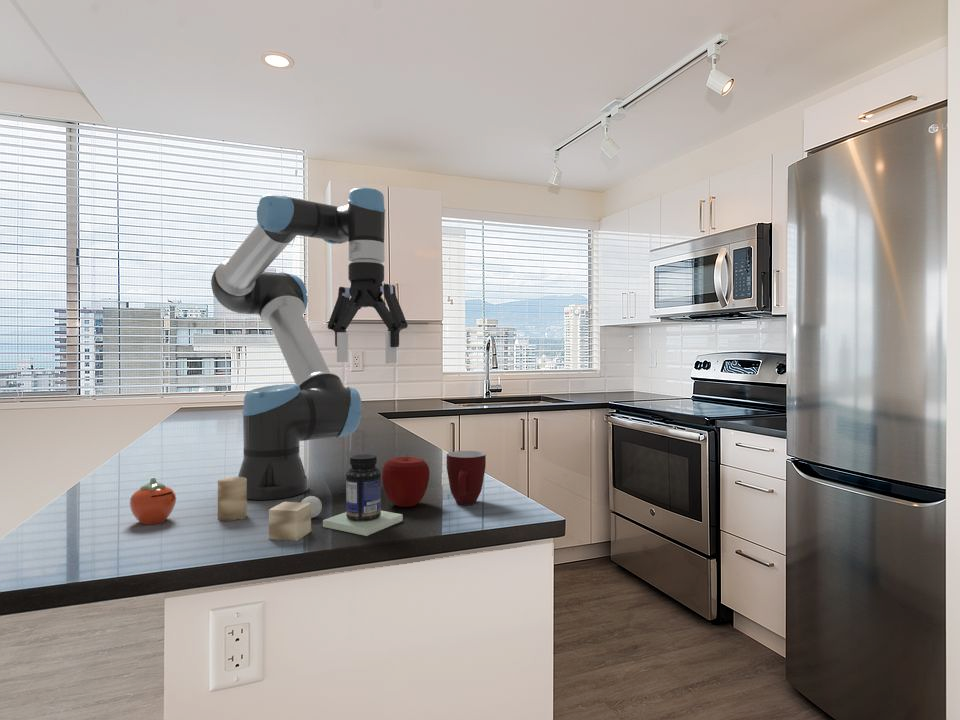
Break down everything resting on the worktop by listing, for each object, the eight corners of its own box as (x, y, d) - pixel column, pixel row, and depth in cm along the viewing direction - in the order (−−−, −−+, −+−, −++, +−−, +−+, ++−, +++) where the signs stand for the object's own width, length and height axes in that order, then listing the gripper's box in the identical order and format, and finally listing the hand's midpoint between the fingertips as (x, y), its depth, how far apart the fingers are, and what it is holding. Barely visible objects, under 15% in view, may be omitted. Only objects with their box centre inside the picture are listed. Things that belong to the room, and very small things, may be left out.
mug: (486, 511, 113) (486, 460, 113) (444, 511, 113) (445, 460, 112) (484, 497, 123) (485, 450, 123) (447, 497, 123) (447, 450, 123)
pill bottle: (382, 512, 107) (382, 453, 107) (379, 521, 101) (379, 459, 101) (348, 512, 107) (348, 453, 107) (343, 522, 101) (343, 459, 101)
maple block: (269, 539, 96) (268, 509, 95) (284, 530, 100) (283, 501, 100) (297, 541, 95) (297, 511, 95) (310, 531, 100) (310, 503, 100)
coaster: (322, 526, 102) (322, 520, 102) (360, 513, 111) (360, 506, 111) (366, 535, 97) (366, 528, 97) (402, 520, 106) (402, 514, 106)
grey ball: (294, 518, 107) (294, 497, 107) (310, 513, 110) (310, 492, 110) (310, 522, 105) (310, 500, 105) (326, 516, 108) (326, 495, 108)
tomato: (145, 530, 100) (144, 484, 100) (120, 523, 104) (120, 479, 103) (185, 519, 106) (184, 476, 106) (160, 513, 110) (160, 471, 110)
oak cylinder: (211, 518, 107) (211, 480, 107) (234, 512, 111) (234, 475, 111) (229, 522, 105) (229, 484, 104) (252, 515, 109) (252, 478, 109)
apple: (431, 510, 113) (431, 459, 113) (381, 512, 111) (381, 461, 111) (427, 498, 122) (427, 451, 122) (381, 500, 121) (381, 452, 120)
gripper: (311, 264, 126) (311, 361, 127) (402, 256, 114) (401, 364, 114) (335, 269, 133) (335, 361, 133) (424, 261, 120) (423, 363, 120)
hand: (366, 362), depth 124 cm, fingers open, 13 cm apart
